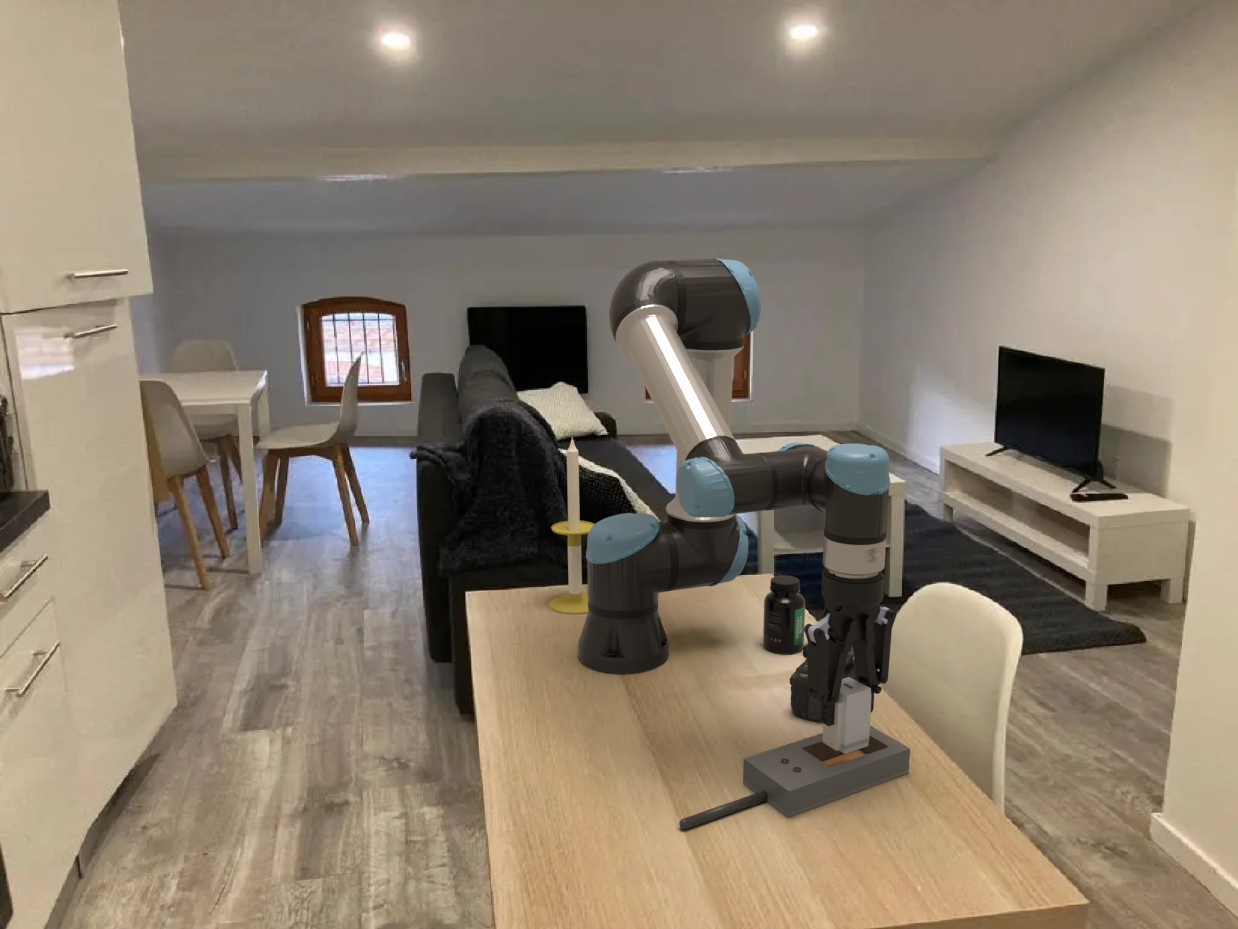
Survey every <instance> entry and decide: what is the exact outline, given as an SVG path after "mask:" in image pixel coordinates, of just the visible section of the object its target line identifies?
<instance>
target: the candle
mask: <svg viewBox="0 0 1238 929" xmlns="http://www.w3.org/2000/svg"><path fill="white" fill-rule="evenodd" d="M579 460H580V459H579V449H577V447H576V445H575V440H574V438H573V437H571V440H570V443H569V447H568V449H567V450H566V472H567V473H566V479H567V486H566V487H567V520H565V521H560V522H557V523H554V524H552V526H551V527H550V528H551V531H552V532H553V533H555V534H557V535H561V536H562V535H563V536H567V564H568V565H567V566H568V567H567V568H568V569H567V572H568V574H567V575H568V594H564V595H559V596H557V597H555V598H553V599H551V600H550V602H549V608H550V609H551V610H552V611H554V612H556V613H560V614H563V615H564V614H565V615H582V614H588V593H587V594H585V593H583V576H582V575H583V574H582V573H583V571H582V536H584V535H588V533H589V531H590V529H591V528H592V527H593V526H594V525H595V524H596V523H593V522H590V521H586V520H580V513H581V512H580V477H579V476H580V473H579V472H580V469H579V468H580V466H579V463H580V462H579Z"/></svg>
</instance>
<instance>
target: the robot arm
mask: <svg viewBox="0 0 1238 929" xmlns="http://www.w3.org/2000/svg"><path fill="white" fill-rule="evenodd" d="M761 304H762V303H761V295H760V290H759V286H758V283H757V282H756V279H755V277H754V276H753V272H752V271H751V270H750V269H749V267H748V266H747V265H746V264H744V263H743V262H741V261H739V260H736V259H723V258H718V257H717V258H700V259H699V258H698V259H697V258H695V259H676V260H675V259H674V260H664V259H660V260H650V261H647V262H644V263H641V264H639V265H637V266H635V267H633V268H632V269H631V270H629V271H628V272H626V274H625V275H624V277H622V278H621V280H620V281H619V282H618V284H617V286H616V287H615V289H614V292H613V294H612V297H611V299H610V304H609V309H608V320H609V322H608V323H609V327H610V331H611V334H612V336H613V339H614V341H615V343H616V345H617V347H618V348H619V351H621V352H622V353H623V354H624V355H626V356H627V357H630V358H631V360H632V362H633V365H634V367H635V368H636V371H637V372H638V374H639V377H640V378H641V380H642V382H643V384H644V387H645V389H646V390H647V393H648V396H650V399H651V401H652V403H653V405H654V407H655V409H656V411H657V413H658V414H659V418H660V419H661V421H662V423H663V426H664V427H665V429H666V431H667V433H668V436H669V437H670V440H671V441H672V443H673V446H674V447H675V450H676V459H675V460H676V464H675V466H676V467H675V495H674V498H673V499H672V500H671V501H669V503H668V504H667V505H666V506H665V519H664V520H661V521H658V518H657V517H656V516H655V515H653V514H650V513H644V512H637V513H633V512H628V513H619V514H615V515H612V516H608V517H606V518H603V519H601V520H599V521H597V522H595V523H594V524H595V525H594V526H593V527H592V528H591V529H590V531H589V533H588V534H587V542H586V543H587V546H586V551H585V558H586V563H587V564H586V567H587V571H586V572H587V595H588V613H586V614H587V615H586V618H585V621H584V623H583V627H582V630H581V633H580V636H579V638H578V643H577V644H578V646H577V649H578V650H577V652H578V653H577V654H578V659H579V661H580V662H581V663H582V664H583V665H585V666H586V667H588V668H590V669H592V670H596V671H600V672H603V673H611V674H636V673H642V672H647V671H651V670H653V669H656V668H658V667H661V666H662V665H663V664H665V663H666V662H667V660H668V659H669V656H670V649H669V648H670V647H669V645H670V644H669V639H668V636H667V633H666V630H665V626H664V624H663V620H662V618H661V615H660V613H659V594H660V593H664V592H672V591H680V590H687V589H693V588H695V589H696V588H701V587H702V588H703V587H714V586H718V585H719V584H726V583H729V582H732V581H734V580H735V579H736V578H737V577H738V576H740V574H741V573H742V571H743V570H744V568H745V565H746V563H747V559H748V556H749V554H748V553H749V536H748V535H747V526H746V524H745V522H744V521H743V519H742V517H740V516H739V515H738V514H747V513H753V512H755V513H756V512H763V511H767V512H768V511H773V510H774V511H775V510H783V509H792V508H798V507H799V508H800V507H811V508H812V509H814V510H817V511H820V512H821V513H824V522H823V523H824V524H823V527H824V528H823V529H824V530H823V548H822V549H823V550H822V551H823V552H822V565H823V566H824V569H823V570H822V572H821V573H822V575H821V576H822V577H821V595H822V598H823V602H824V608H823V612H822V614H821V619H820V620H819V621H818V622H816V623H815V624H811V623H806V624H805V625H804V635H805V637H806V640H807V643H808V695H810V696H812V697H813V698H815V699H817V700H819V701H820V702H821V706H820V720H821V722H820V723H822V733H823V740H822V742H823V743H825V744H826V745H828V746H830V747H831V748H833V749H834V750H836V751H838V750H841V741H842V718H843V702H841V701H840V700H838V698H839V693H840V688H841V683H842V678H843V673H844V668H845V664H846V659H847V654H848V652H850V651H851V649H852V646H853V651H854V659H855V667H856V674H857V681H858V682H860V683H862V684H863V685H865V686H867V687H869V688H871V699H870V715H871V714H872V713H873V711H874V707H875V706H874V704H875V694H876V695H879V694H880V693H881V692H882V689H883V688H882V687H881V686H879V685H880V684H883V685H884V684H886V683H887V682H888V680H889V670H890V660H891V659H890V657H891V646H892V645H891V643H892V634H893V633H892V630H893V627H894V625H895V624H894V623H895V620H896V618H897V612H896V611H895V610H893V609H890V608H888V607H886V606H883V605H881V604H880V603H881V602H882V601H883V599H884V590H885V589H884V587H885V574H884V572H883V570H884V569H885V565H886V563H885V562H886V544H887V543H886V541H887V527H888V525H887V524H888V514H889V513H888V511H889V496H890V486H891V477H890V457H889V454H888V452H887V450H885V448H882V447H880V446H877V445H873V444H872V445H871V444H865V443H842V444H836V445H833V446H832V447H830V448H829V449H828V450H826V449H823V448H822V447H820V446H818V445H814V444H813V443H803V442H796V441H795V442H790V443H787V444H785V445H784V446H782V447H781V448H778V450H776V451H774V450H773V451H767V452H766V451H765V452H753V453H744V452H743V451H742V449H741V448H740V446H739V444H738V442H737V440H736V439H735V437H734V435H733V433H732V432H731V419H732V399H733V398H732V396H733V379H734V378H733V376H734V358H735V356H736V355H737V354H738V353H740V352H741V351H742V350H743V349H744V345H745V335H748V334H750V333H752V332H754V331H755V330H756V328H757V327H758V323H759V321H760V320H761V319H760V318H761V312H762V311H761V309H762V308H761V307H762V306H761ZM828 690H829V691H828ZM870 726H871V720H870V721H869V735H870Z"/></svg>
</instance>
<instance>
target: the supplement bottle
mask: <svg viewBox="0 0 1238 929" xmlns="http://www.w3.org/2000/svg"><path fill="white" fill-rule="evenodd" d="M800 583H801V581H800V579H799V578H798V577H796V576H792V575H785V574H784V575H776V576H773V577H771V578H770V586H769V591H770V592H768V593H767V594H766V595H765V597H764V600H763V628H762V629H763V630H762V633H763V634H762V644H763V647H764V649H765V650H767V651H769V652H771V653H775V654H779V655H793V654H796V653H799V652H800V651H803V646H805V645H804V644H805V631H804V627H805V625H806V624H805V622H806V621H805V620H806V619H805V618H806V617H805V616H806V600H805V598H804V596H803V595H802V594H801V593H800V592H801V588H800V587H801V584H800Z"/></svg>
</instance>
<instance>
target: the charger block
mask: <svg viewBox="0 0 1238 929" xmlns="http://www.w3.org/2000/svg"><path fill="white" fill-rule="evenodd" d="M828 691H829V690H828ZM870 699H871V688H869V687H867V686H865V685H863V684H862V683H860V682H858V681H856V680H854V679H852V678H850V677H847V678H844V679H842V683H841V688H840V693H839V698H838V700H840V701H841V702H843V718H842V741H841V750H839V751H841V752H842V753H844V754H846V753H849V752H852V751H855V750H858V749H861V748H864V747H867V746H868V743H869V721H870V722H871V714H870Z"/></svg>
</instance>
